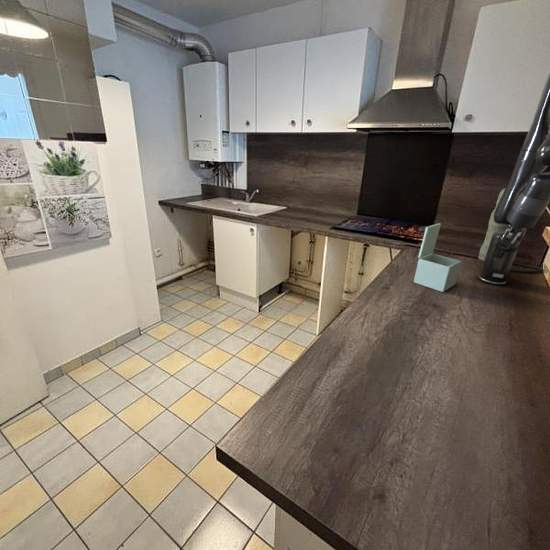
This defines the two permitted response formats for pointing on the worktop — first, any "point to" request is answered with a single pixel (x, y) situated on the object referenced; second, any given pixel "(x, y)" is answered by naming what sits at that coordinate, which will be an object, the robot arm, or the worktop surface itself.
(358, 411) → the worktop surface
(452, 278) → the light blue lidded box
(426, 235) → the lid
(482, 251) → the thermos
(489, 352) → the worktop surface
